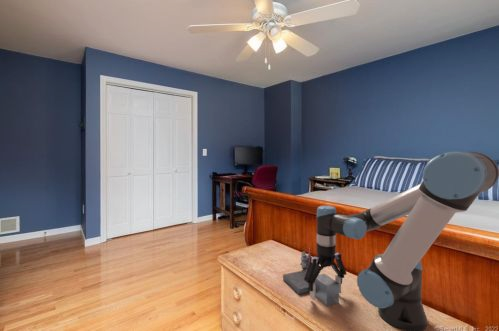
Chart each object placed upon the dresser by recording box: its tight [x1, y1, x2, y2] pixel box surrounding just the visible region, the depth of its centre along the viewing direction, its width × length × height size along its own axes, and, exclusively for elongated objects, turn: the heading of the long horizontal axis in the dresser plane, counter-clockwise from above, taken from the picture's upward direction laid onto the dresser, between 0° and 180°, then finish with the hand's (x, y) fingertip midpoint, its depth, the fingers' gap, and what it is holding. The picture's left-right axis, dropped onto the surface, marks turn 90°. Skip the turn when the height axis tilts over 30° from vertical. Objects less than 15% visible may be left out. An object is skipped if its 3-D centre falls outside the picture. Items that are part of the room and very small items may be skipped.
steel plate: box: [282, 269, 312, 296], centre depth 113 cm, size 14×14×2 cm
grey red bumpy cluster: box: [300, 247, 317, 270], centre depth 130 cm, size 11×10×11 cm
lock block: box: [314, 273, 340, 307], centre depth 101 cm, size 9×6×8 cm, turn 21°
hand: (325, 294), depth 101 cm, fingers open, 12 cm apart
